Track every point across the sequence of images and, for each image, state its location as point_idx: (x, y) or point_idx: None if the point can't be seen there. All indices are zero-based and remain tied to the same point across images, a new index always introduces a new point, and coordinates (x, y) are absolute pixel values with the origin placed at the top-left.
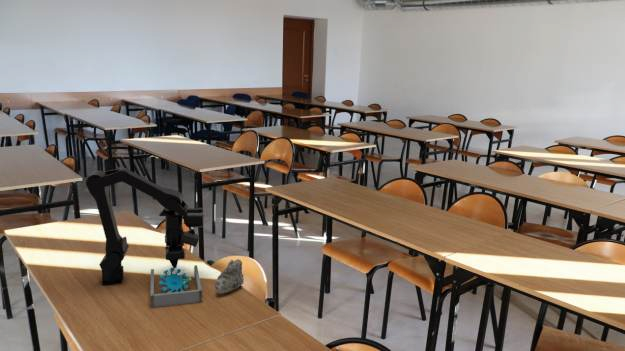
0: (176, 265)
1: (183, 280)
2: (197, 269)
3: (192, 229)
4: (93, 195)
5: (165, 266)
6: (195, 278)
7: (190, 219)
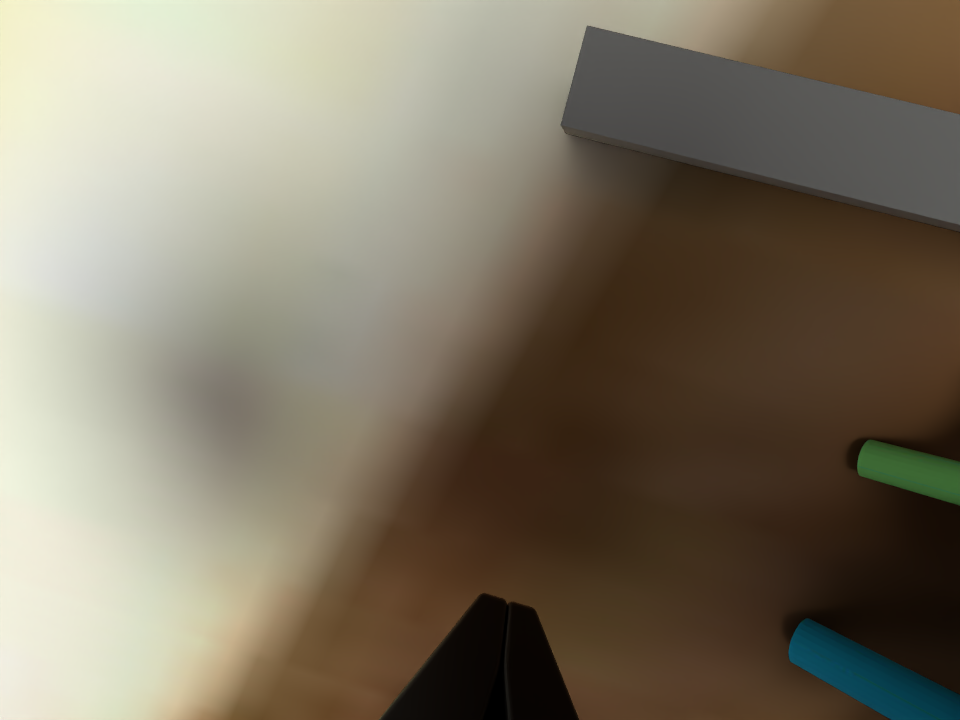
0: (555, 675)
1: None
2: (928, 119)
3: None
4: None
5: (61, 451)
6: (945, 226)
7: None
